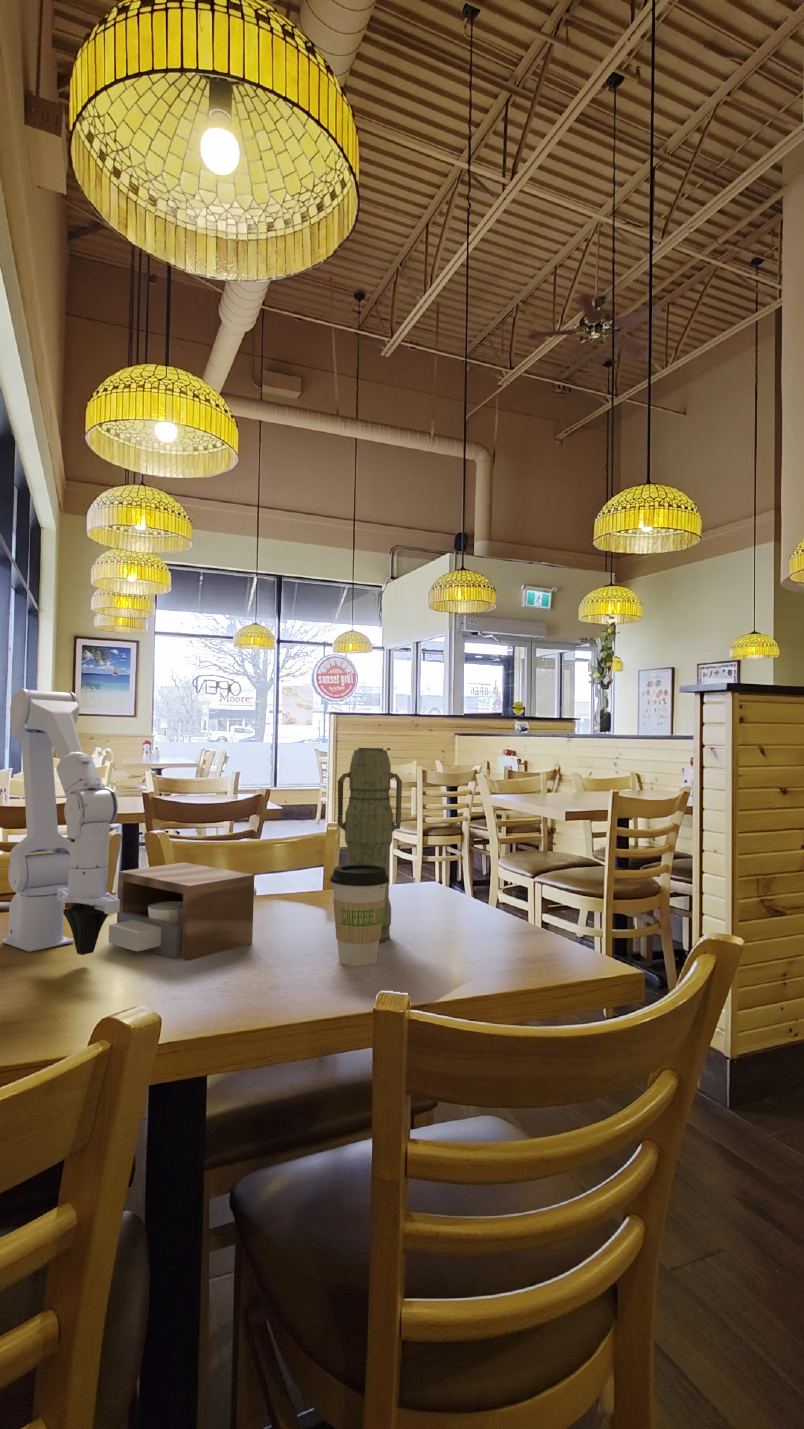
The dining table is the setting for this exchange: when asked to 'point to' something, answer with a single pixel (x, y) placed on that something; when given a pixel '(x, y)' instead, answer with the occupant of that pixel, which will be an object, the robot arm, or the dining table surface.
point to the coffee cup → (358, 911)
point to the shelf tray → (146, 934)
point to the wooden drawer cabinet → (195, 903)
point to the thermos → (370, 815)
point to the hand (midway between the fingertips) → (85, 953)
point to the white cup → (167, 911)
